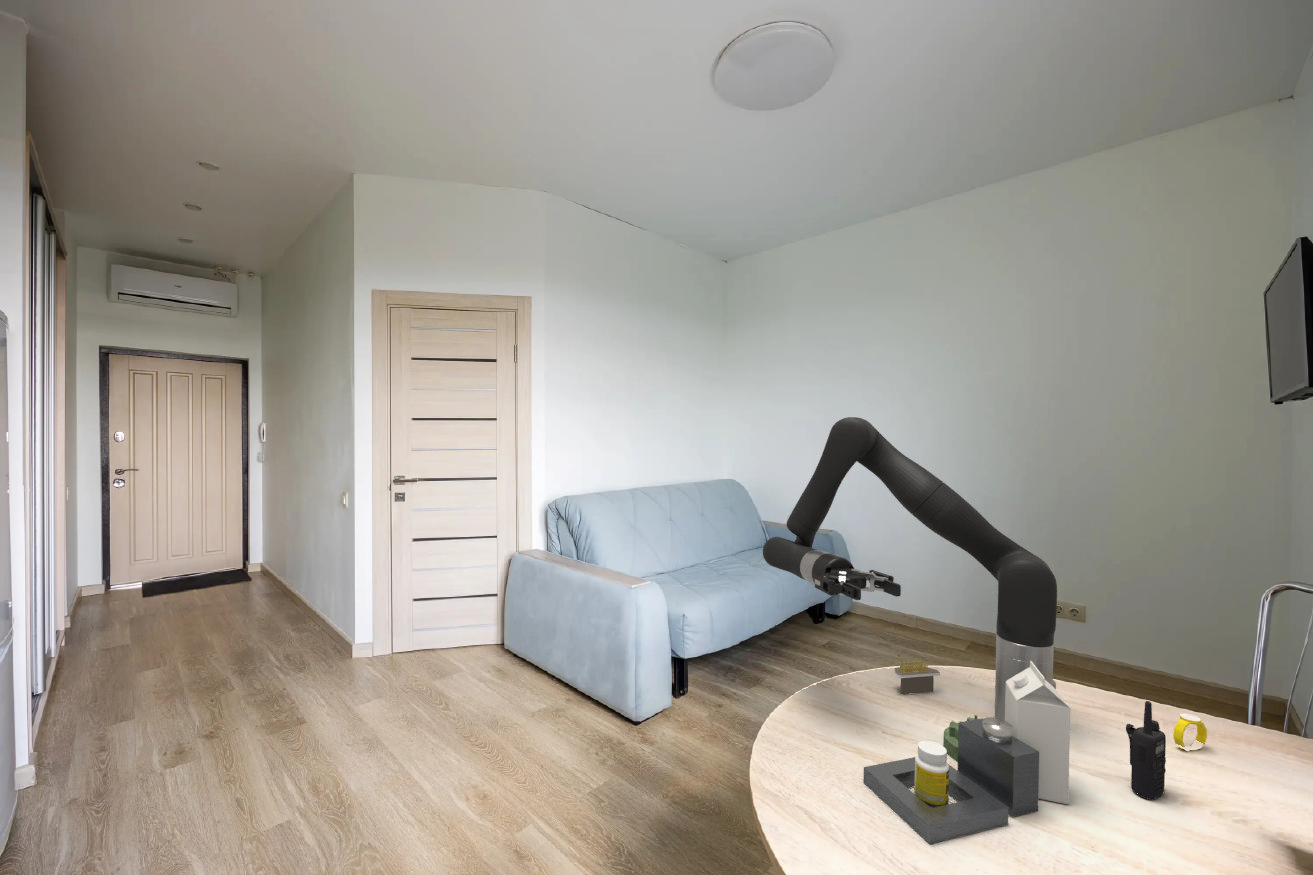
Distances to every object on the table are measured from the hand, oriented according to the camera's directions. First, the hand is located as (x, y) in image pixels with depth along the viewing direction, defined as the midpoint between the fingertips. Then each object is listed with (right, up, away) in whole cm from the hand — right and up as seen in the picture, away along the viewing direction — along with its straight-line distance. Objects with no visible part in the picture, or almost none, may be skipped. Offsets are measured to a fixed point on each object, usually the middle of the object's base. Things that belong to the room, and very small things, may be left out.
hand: (879, 592), depth 100 cm
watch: (+57, -29, +1) cm, 64 cm away
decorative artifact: (+16, -28, -1) cm, 33 cm away
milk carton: (+21, -28, -10) cm, 37 cm away
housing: (+5, -28, -14) cm, 32 cm away
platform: (+17, -28, +22) cm, 40 cm away
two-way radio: (+38, -29, -11) cm, 49 cm away
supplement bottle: (+2, -28, -15) cm, 32 cm away
